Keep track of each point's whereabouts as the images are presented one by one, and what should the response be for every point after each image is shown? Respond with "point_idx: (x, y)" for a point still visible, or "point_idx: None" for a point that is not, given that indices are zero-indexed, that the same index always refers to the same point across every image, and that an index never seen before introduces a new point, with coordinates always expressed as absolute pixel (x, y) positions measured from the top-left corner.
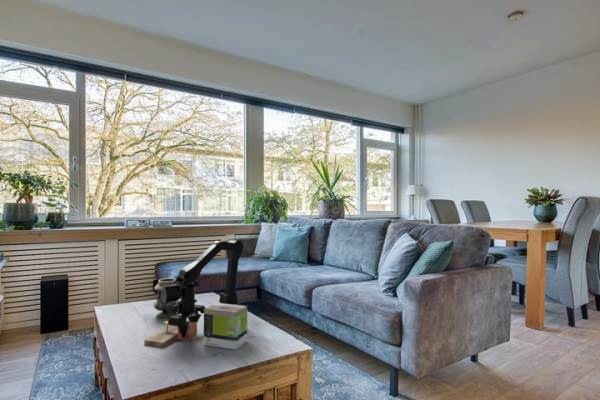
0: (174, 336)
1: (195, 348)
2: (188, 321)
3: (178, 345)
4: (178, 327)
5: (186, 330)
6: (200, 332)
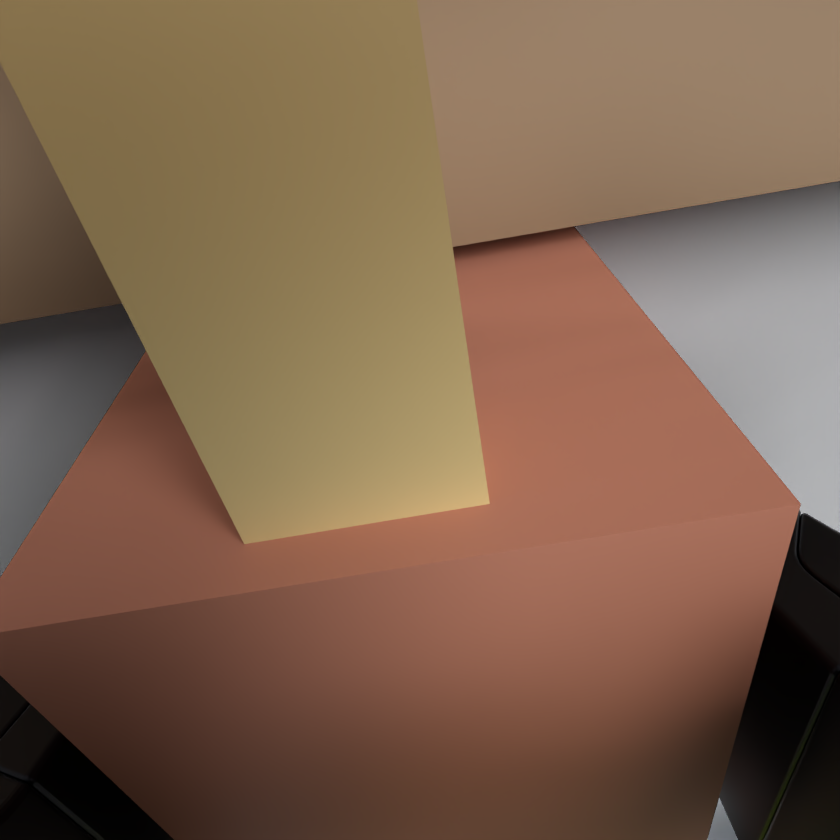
0: (22, 316)
1: None
2: (684, 710)
3: (16, 526)
4: (72, 540)
5: None
6: (777, 443)
